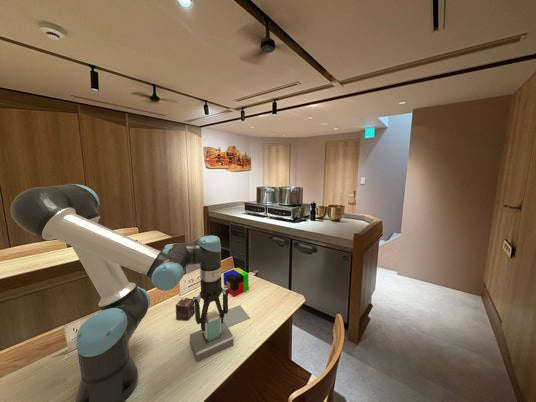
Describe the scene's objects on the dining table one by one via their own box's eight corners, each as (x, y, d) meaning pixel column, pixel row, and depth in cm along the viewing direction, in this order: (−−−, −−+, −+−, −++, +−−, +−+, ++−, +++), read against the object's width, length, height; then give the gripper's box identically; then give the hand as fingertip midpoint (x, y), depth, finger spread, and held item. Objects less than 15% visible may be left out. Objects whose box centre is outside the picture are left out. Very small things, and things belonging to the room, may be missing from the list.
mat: (227, 328, 91) (227, 327, 91) (218, 314, 100) (218, 312, 100) (250, 319, 97) (250, 318, 97) (239, 306, 106) (239, 305, 106)
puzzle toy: (223, 289, 121) (223, 273, 119) (238, 283, 127) (238, 267, 126) (233, 297, 113) (233, 279, 112) (248, 290, 120) (248, 273, 119)
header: (196, 363, 74) (196, 353, 74) (189, 343, 83) (189, 334, 82) (233, 346, 82) (233, 337, 81) (223, 329, 90) (223, 320, 90)
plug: (208, 349, 79) (208, 320, 78) (205, 341, 83) (204, 313, 82) (220, 344, 82) (219, 316, 80) (216, 336, 86) (215, 309, 84)
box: (187, 322, 94) (187, 307, 93) (175, 320, 96) (175, 305, 95) (195, 313, 100) (194, 298, 99) (183, 311, 102) (183, 297, 100)
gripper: (188, 289, 71) (191, 351, 74) (237, 275, 80) (237, 331, 84) (183, 279, 77) (186, 336, 80) (229, 268, 86) (230, 319, 90)
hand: (212, 333), depth 82 cm, fingers closed on plug, 5 cm apart
